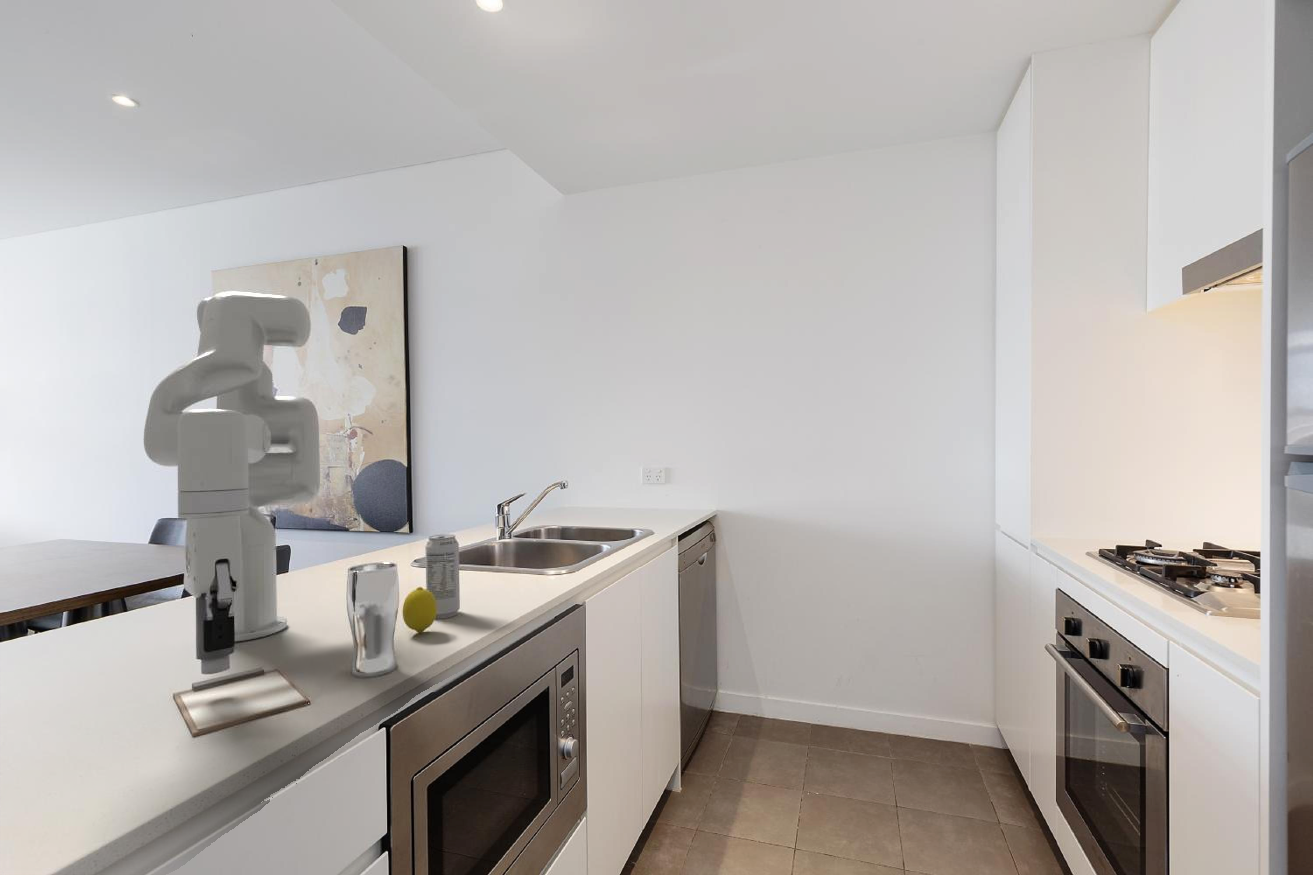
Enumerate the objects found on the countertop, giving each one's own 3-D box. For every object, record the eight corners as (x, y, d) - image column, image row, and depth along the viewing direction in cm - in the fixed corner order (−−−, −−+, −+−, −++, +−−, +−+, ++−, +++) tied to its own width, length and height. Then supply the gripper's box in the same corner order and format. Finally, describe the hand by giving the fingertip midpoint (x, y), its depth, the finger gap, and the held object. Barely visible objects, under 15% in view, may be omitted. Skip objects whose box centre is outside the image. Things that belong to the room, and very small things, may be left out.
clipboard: (172, 696, 81) (172, 687, 81) (277, 671, 89) (277, 662, 89) (192, 736, 69) (192, 725, 69) (310, 703, 78) (310, 693, 78)
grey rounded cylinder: (193, 670, 79) (192, 577, 80) (231, 662, 82) (230, 572, 83) (198, 678, 77) (197, 581, 77) (237, 669, 79) (236, 576, 80)
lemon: (442, 628, 108) (441, 583, 109) (427, 638, 103) (427, 591, 103) (412, 628, 109) (412, 583, 109) (396, 638, 104) (395, 590, 104)
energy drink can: (463, 610, 120) (462, 533, 120) (454, 618, 114) (452, 538, 114) (433, 610, 120) (431, 534, 120) (421, 619, 114) (420, 539, 114)
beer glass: (366, 682, 84) (364, 573, 84) (337, 673, 88) (335, 568, 88) (410, 666, 90) (408, 564, 90) (381, 658, 94) (380, 560, 94)
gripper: (169, 504, 83) (170, 639, 83) (188, 509, 71) (189, 668, 71) (235, 500, 89) (236, 627, 88) (263, 504, 77) (265, 652, 76)
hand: (215, 644), depth 80 cm, fingers closed on grey rounded cylinder, 4 cm apart
